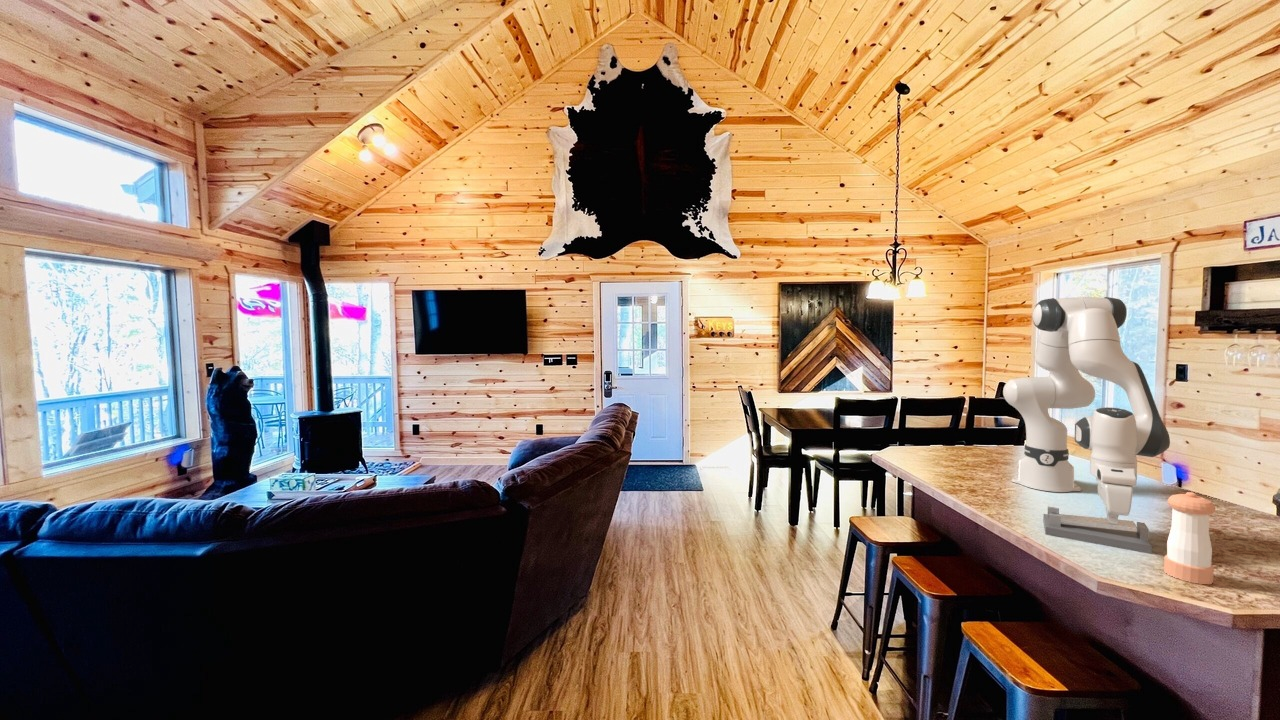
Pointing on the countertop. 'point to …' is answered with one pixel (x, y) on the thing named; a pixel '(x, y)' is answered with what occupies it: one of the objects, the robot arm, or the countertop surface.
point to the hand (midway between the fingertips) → (1111, 522)
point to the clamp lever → (1097, 522)
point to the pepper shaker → (1190, 539)
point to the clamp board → (1098, 533)
